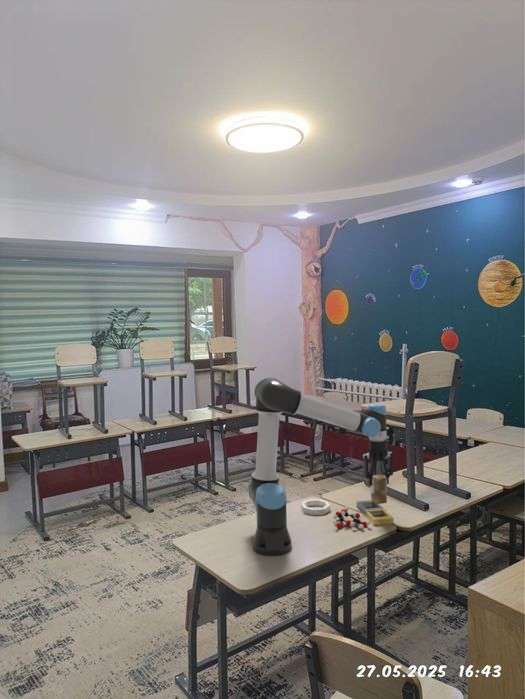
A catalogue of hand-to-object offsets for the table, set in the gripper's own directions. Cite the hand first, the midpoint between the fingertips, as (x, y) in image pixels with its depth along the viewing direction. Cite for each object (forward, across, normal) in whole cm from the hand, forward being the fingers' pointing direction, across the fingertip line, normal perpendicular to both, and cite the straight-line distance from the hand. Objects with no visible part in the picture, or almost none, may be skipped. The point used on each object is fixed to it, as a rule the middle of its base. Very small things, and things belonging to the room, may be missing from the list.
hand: (378, 491), depth 214 cm
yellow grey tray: (+12, 0, +5) cm, 13 cm away
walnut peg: (+4, 0, 0) cm, 4 cm away
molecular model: (+13, -14, -2) cm, 19 cm away
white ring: (+12, -24, +16) cm, 32 cm away
